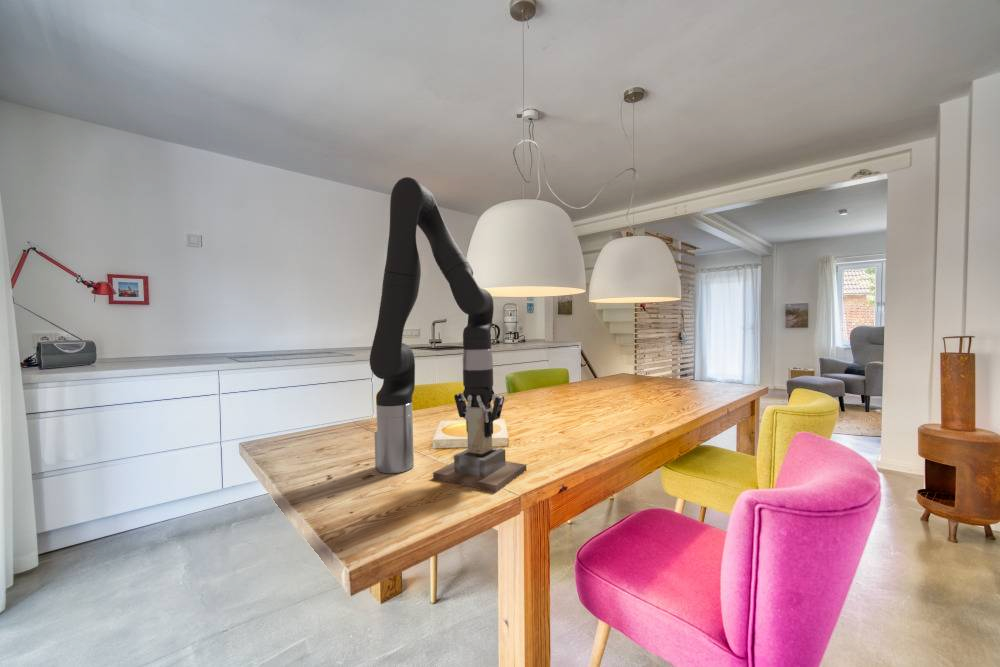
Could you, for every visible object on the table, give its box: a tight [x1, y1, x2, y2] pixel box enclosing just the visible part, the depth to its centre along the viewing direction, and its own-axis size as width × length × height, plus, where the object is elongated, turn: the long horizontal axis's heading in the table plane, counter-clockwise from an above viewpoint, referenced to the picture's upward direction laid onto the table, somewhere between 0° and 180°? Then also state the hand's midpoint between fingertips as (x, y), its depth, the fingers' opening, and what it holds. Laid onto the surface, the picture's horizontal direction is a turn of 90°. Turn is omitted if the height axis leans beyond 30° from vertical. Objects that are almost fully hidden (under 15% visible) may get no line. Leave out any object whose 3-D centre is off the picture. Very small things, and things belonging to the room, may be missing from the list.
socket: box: [432, 446, 527, 493], centre depth 97 cm, size 18×15×6 cm
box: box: [466, 406, 493, 454], centre depth 97 cm, size 5×4×11 cm
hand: (479, 435), depth 97 cm, fingers closed on box, 4 cm apart
